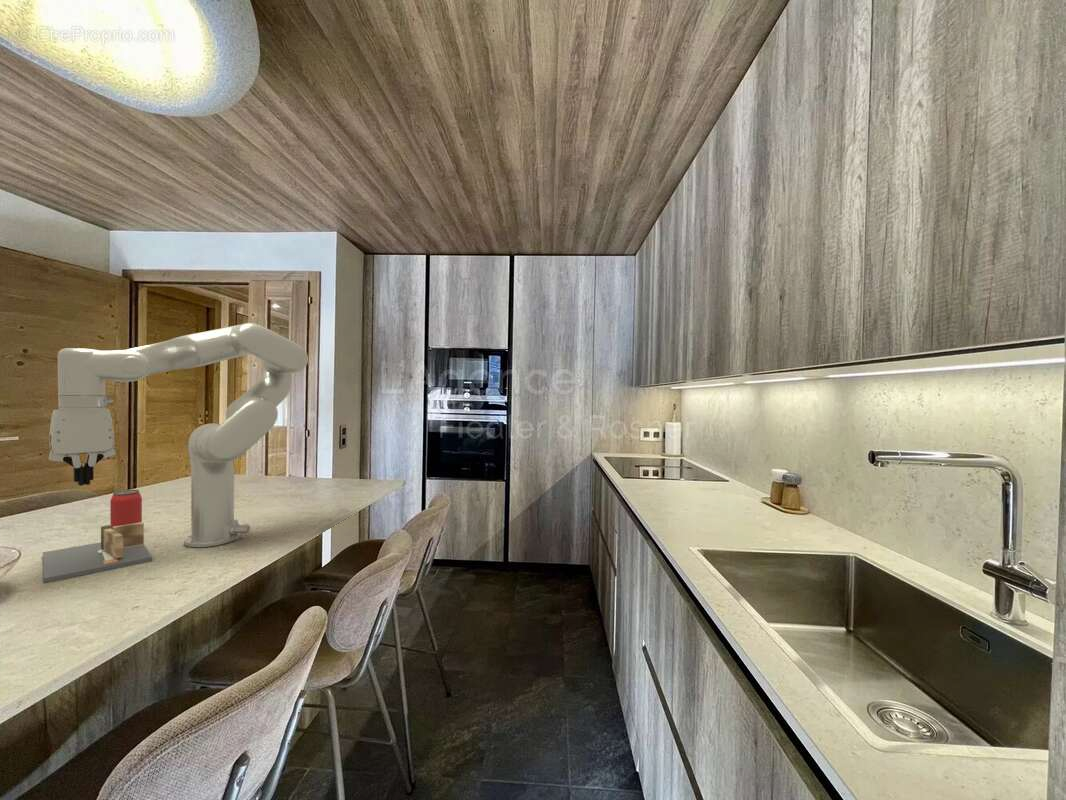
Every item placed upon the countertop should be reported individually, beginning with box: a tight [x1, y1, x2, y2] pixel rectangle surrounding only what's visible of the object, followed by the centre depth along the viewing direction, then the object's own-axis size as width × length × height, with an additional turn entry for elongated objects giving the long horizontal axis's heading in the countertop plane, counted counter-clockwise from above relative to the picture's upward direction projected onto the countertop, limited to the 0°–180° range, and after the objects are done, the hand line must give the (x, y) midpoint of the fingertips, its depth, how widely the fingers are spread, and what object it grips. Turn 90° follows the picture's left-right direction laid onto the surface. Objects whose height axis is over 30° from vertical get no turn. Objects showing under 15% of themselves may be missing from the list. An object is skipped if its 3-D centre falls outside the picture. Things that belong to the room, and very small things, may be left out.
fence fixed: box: [113, 521, 145, 548], centre depth 114 cm, size 6×1×6 cm, turn 138°
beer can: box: [109, 489, 143, 530], centre depth 127 cm, size 7×7×12 cm
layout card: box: [42, 541, 153, 584], centre depth 109 cm, size 18×22×1 cm
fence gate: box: [100, 524, 123, 558], centre depth 109 cm, size 11×2×6 cm, turn 56°
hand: (83, 484), depth 103 cm, fingers closed
